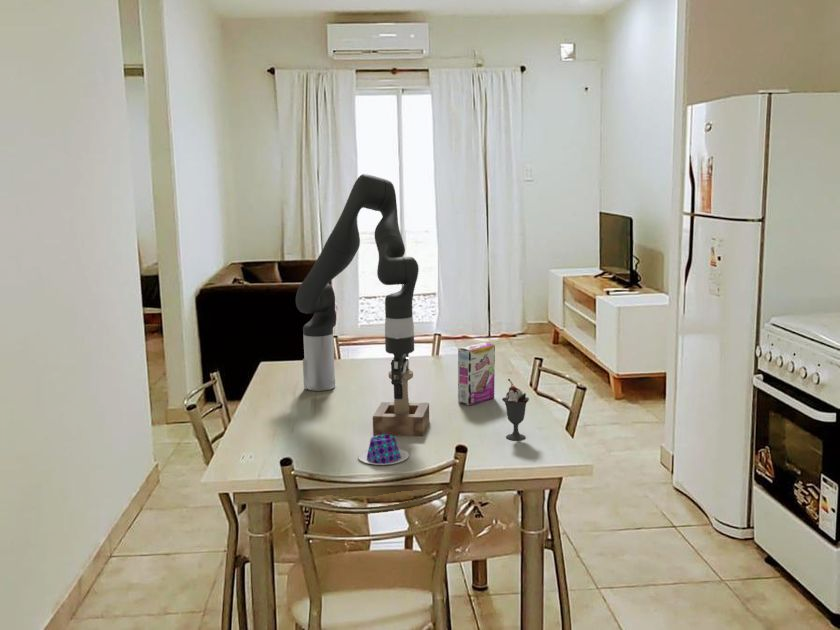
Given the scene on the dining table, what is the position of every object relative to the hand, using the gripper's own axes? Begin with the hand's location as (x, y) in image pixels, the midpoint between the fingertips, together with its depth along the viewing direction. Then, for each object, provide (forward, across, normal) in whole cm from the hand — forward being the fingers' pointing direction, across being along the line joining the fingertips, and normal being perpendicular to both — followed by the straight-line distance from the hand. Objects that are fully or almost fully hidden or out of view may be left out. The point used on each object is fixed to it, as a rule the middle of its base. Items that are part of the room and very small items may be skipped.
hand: (401, 394), depth 221 cm
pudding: (+10, +23, -1) cm, 25 cm away
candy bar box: (+9, -27, +18) cm, 34 cm away
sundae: (+9, +6, +30) cm, 32 cm away
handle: (+9, 0, 0) cm, 9 cm away
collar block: (+9, 0, 0) cm, 9 cm away
